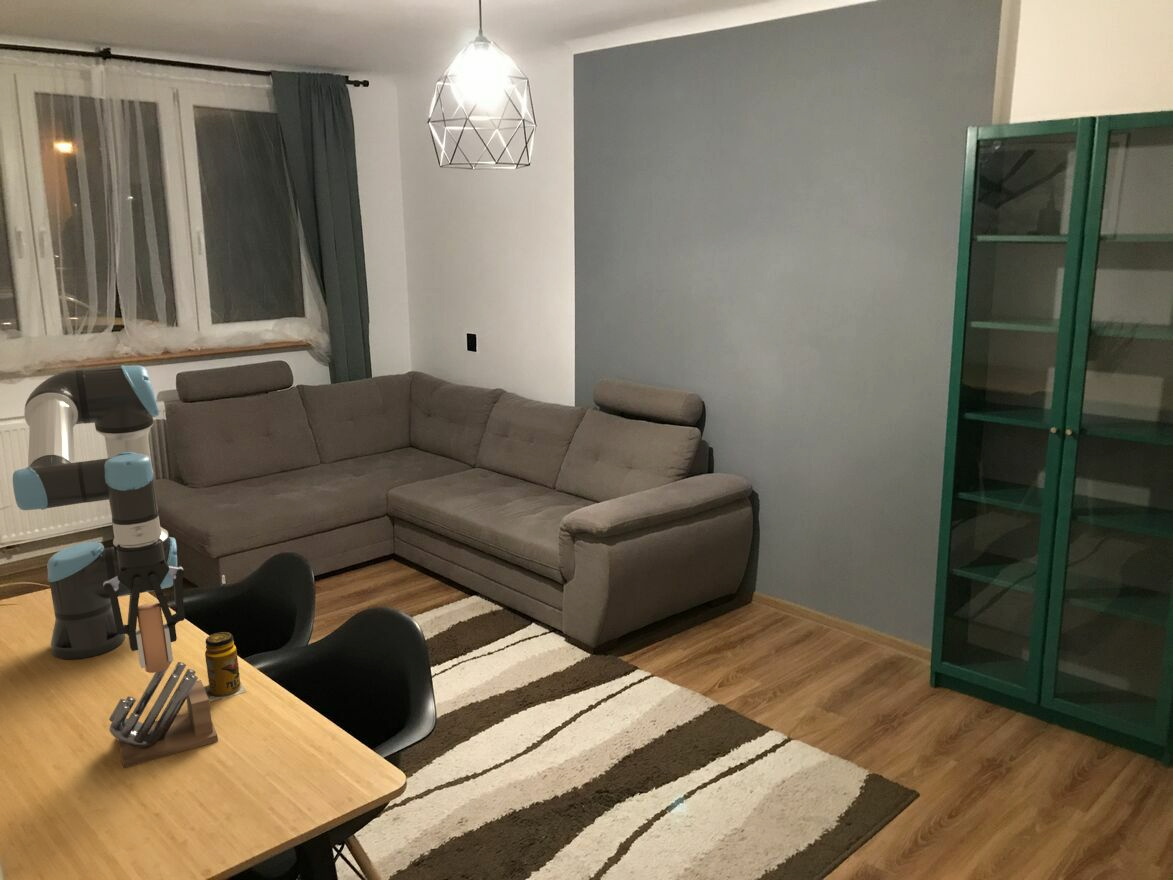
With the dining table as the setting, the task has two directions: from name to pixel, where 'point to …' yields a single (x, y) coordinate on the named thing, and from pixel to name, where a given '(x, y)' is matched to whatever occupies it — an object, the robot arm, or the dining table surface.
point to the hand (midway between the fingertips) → (156, 661)
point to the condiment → (222, 667)
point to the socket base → (178, 731)
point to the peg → (153, 637)
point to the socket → (142, 732)
